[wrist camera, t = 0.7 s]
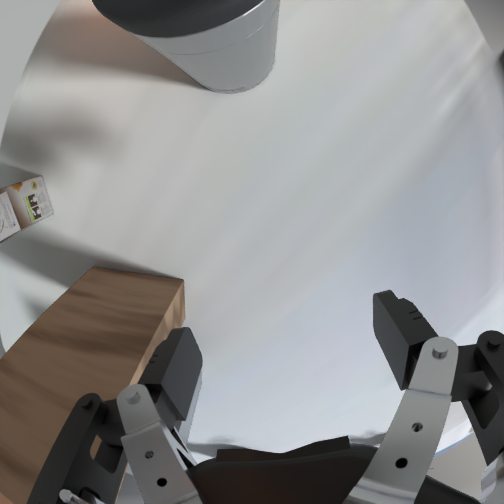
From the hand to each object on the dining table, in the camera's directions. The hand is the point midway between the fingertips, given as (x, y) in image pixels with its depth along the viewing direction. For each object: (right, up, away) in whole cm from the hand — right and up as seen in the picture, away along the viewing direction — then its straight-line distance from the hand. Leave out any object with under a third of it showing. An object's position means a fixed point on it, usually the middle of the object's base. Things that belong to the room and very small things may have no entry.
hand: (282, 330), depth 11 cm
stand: (-17, -2, +24) cm, 30 cm away
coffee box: (-35, +11, +20) cm, 42 cm away
